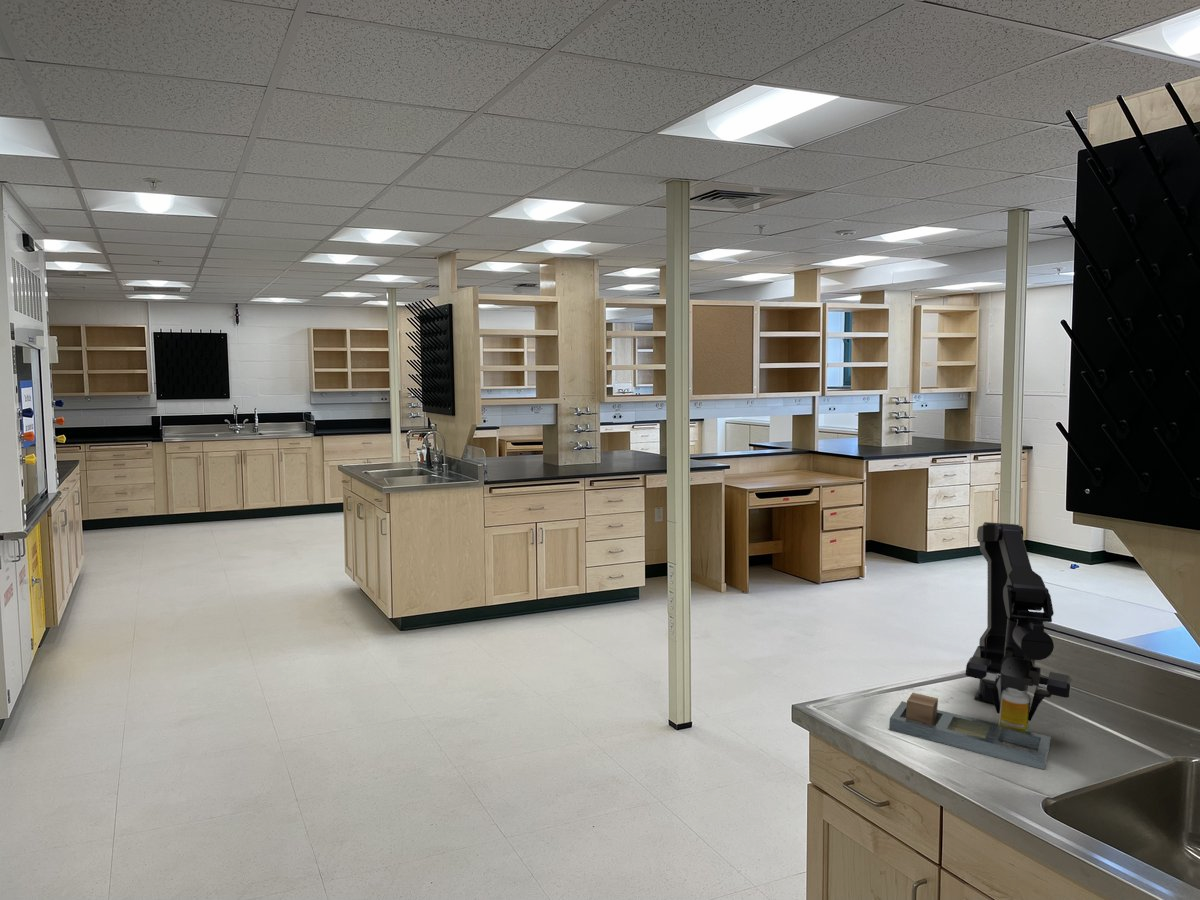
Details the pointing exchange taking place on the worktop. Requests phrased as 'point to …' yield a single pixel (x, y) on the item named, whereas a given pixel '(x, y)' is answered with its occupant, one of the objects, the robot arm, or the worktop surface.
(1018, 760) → the rail
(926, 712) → the walnut block
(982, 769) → the worktop surface
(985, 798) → the worktop surface
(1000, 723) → the supplement bottle
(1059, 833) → the worktop surface
